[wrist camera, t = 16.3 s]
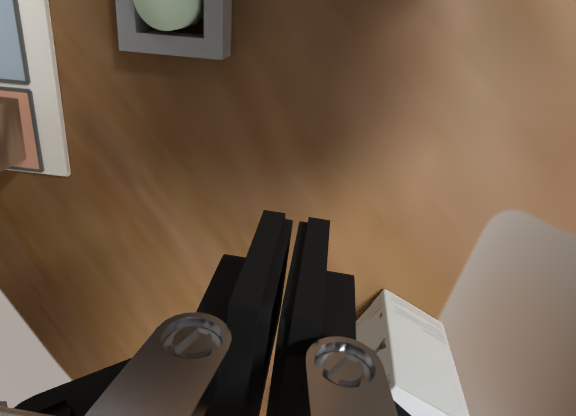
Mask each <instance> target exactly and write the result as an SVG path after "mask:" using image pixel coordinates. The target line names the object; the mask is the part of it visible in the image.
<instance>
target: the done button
mask: <svg viewBox="0 0 576 416" xmlns="http://www.w3.org/2000/svg"><path fill="white" fill-rule="evenodd" d="M133 1H134V5H135V8H136V10H137V12H138V14H139V15H140V17H141V18H142V19H143V20H144V21H145V22H146V23H147V24H148V25H150V26H151V27H153V28H155V29H158V30H162V31H172V30H177V29H182V28H187V27H191V26H193V25H195V24H197V23H198V22H199V21H200V20H201V19H202V18H203V16H204V0H133Z"/></svg>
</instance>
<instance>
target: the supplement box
mask: <svg viewBox="0 0 576 416" xmlns="http://www.w3.org/2000/svg"><path fill="white" fill-rule="evenodd" d="M356 341H359V342H361V343H363V344H365V345H366V346H368V347H369V348H371V349H372V350H373V351H374V352H375V353H376V354H377V355H378V357H379V358H380V360H381V362H382V364H383V367H384V370H385V373H386V377H387V380H388V383H389V387H390V390H391V393H392V397H393V400H394V401H395V402H396V403H398V404H399V405H400V406H401V407H402V408H403V409H404V410H405V411H407V412H408V413H409V414H410V415H411V416H469V412H468V409H467V405H466V402H465V399H464V395H463V392H462V388H461V385H460V382H459V378H458V375H457V371H456V368H455V364H454V361H453V358H452V354H451V352H450V347H449V344H448V340H447V337H446V334H445V330H444V327H443V324H442V323H441V322H440V321H438V320H436V319H435V318H433V317H431V316H430V315H428V314H426V313H425V312H423V311H422V310H420V309H418V308H416V307H415V306H413V305H412V304H410V303H408V302H407V301H405V300H403V299H402V298H400V297H398V296H396V295H395V294H393V293H392V292H390V291H388V290H386V289H383V290H382V292H381V293H380V294H379V295H378V297H377V298H376V299H375V300H374V302H373V303H372V304H371V305H370V306H369V308H368V309H367V310H366V311H365V312H364V313H363V314H362V315H361V316H360V318H359V319H358V320H357V321H356Z"/></svg>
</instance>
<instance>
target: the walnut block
mask: <svg viewBox="0 0 576 416" xmlns="http://www.w3.org/2000/svg"><path fill="white" fill-rule="evenodd" d="M25 159H26V152H25V145H24V138H23V131H22V124H21V117H20V109H19V102H18V99H16V98H9V97H1V96H0V172H1V171H3V170H5V169H7V168H9V167H11V166H13V165H15V164H17V163H19V162H21V161H23V160H25Z"/></svg>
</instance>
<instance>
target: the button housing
mask: <svg viewBox="0 0 576 416" xmlns="http://www.w3.org/2000/svg"><path fill="white" fill-rule="evenodd" d="M115 2H116V16H117V29H118V42H119V51H129V52H140V53H151V54H162V55H173V56H184V57H195V58H205V59H216V60H223V59H225V58H227V57H229V56H231V29H232V0H204V35H201V34H190V33H179V32H167V31H156V30H151V26H150V25H148V24H147V23H146V22H145V21H144V20H143V19H142V18H141V17H140V15H139V14H138V12H137V10H136V8H135V5H134V1H133V0H115Z"/></svg>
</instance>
